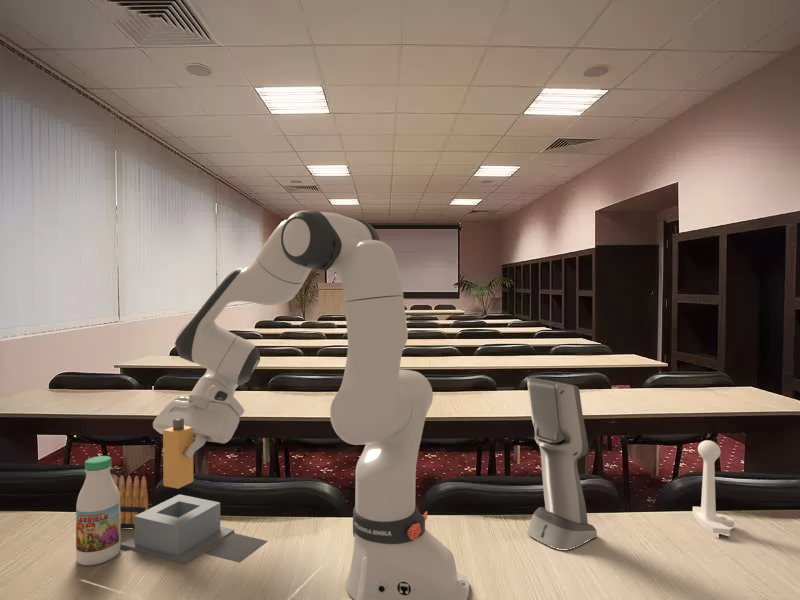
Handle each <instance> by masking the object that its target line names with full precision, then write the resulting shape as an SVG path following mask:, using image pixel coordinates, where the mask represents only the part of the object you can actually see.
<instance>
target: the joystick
mask: <svg viewBox="0 0 800 600" xmlns="http://www.w3.org/2000/svg"><path fill="white" fill-rule="evenodd" d="M697 452H698V454H699V456H700V457H701V458H702V459H703V466H702V482H701V483H702V484H701V497H700V498H701V503H700V506H692V515H693V514H694V517H695V518H696V519H697V521H698V522H699V523H700V524H701V525H702V526H704V527H705V528H706V529H708V530H710V531H711V532H713V533H723V534H730V535H731V531H730V528H729V527H733V526H734V527H735V519H734V518H733V517H731V516H729V515H724V514H718V513H716V512H717V511H716V508H717V507H716V506H717V505H716V481H715V480H716V478H715V474H716V472H715V462H716V461H717V459H719V457H720V456H721V454H722V453H721V448H720V446H719V445H718V444H717V443H716V442H715V441H713V440H708V439H706V440H703V441H701V442H700V443H699V444H698V446H697Z"/></svg>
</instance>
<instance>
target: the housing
mask: <svg viewBox="0 0 800 600" xmlns="http://www.w3.org/2000/svg"><path fill="white" fill-rule="evenodd" d="M234 532H235V529H234V528H233V529H232V528H229V527H223V526H221V502H219V501H215V500H208V499H203V498H201V497H200V498H199V497H194V496H190V495H184V494H177V495H175V496H173V497H171V498H168V499H166V500H165V501H162V502H160V503H158V504H157V505H155V506H152V507H149V509H148V510H146V511H144V512H142V513H140V514H138V515H136V516H134V536H133V537H131V538H129V539H127V540H125V541H123V542H122V543H121V548H120V549H123V548H124V550H127V551H130V550H132V551H135V552H140V553H142V554H147V555H150V556H154V557H156V558H162V559H165V560H168V561H171V562H175V563H176V562H177V563H179V564H183V565H187V564H188V563H190V562H191V561H192V560H194V559H195V558H197V557H199V556H200V555H202V554H203V553H206V552H207V551H209V550H210V549H212V548H213V547H215V546H216V545H218V544H219V543H221V542H222V541H224V540H225V539H227V538H228V537H230V536H231V535H233V534H234Z"/></svg>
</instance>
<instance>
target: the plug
mask: <svg viewBox="0 0 800 600" xmlns="http://www.w3.org/2000/svg"><path fill="white" fill-rule="evenodd" d="M192 429H193V427H188V426H184V419H183V418H177V419H173V427H171V428H168V429H165V430H163V434H162V436H163V437H162V438H163V439H162V446H163V447H162V449H163V451H162V455H163V457H162V459H163V461H162V462H163V464H162V469H163V470H162V472H163V473H162V474H163V475H162V476H163V477H162V480H163V482H162V483H163V485H162V486H164V487H168V488H173V489H177V490H179V489H181V488H182V487H185V486H187V485H189V484H191V483H193V482H194V455H193V456H192V457H191V458H188V457H184V456H183V455H182V452H183V451H184V448H185V447H186V446H187V447H189V446H190V445H191V444H192V443H193V442H194V439H193V434H192V433H191V431H192Z"/></svg>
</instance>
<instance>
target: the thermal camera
mask: <svg viewBox="0 0 800 600" xmlns="http://www.w3.org/2000/svg"><path fill="white" fill-rule="evenodd" d="M527 391H528V398H529V400H528V401H529V410H530V416H531V421H532V425H533V428H534V429H533V430H534V440H535V442H536V444H537V445H538V446H539V450H540V462H541V474H542V475H541V477H542V486H543V498H544V504H545V505H544V507H541V506H540V507H538V508H537V509H535V511H534V512H533V514H532V516H531V519H530V522H529V525H528V528H527V533H528V536H529V535H530V536H531V537H530V536H529V537H530V538H532V537H533V538H534V539H533V538H532V539H533V540H535V539H536V540H535V541H537V540H538V541H540V542H542V543H544V544H546V545H549V546H552V547H555V548H559V549H570V548H573V547H576V546H578V545H580V544H582V543H584V542H585V541H587V540H589V539H591V538H593V537H595V536H596V537H597V536H598V533H597V532H598V531H597V528H595V526H594V525H593V524H590V523H589V522H588V521H589V520H588V513H587V507H586V501H585V496H584V491H583V487H582V483H581V479H580V475H579V469H578V461H579V459H581V458H583V457H585V456H586V455H587V453H588V450H589V443H588V436H587V431H586V425H585V419H584V415H583V408H582V407H583V406H582V398H581V393H580V388H579V386H578V385H575V384H569V383H565V382H564V383H563V382H558V381H552V380H545V379H541V378H533V377H532V378H528V379H527ZM538 541H537V542H538ZM540 542H539V543H540ZM542 543H541V544H542ZM544 544H543V545H544ZM584 544H585V543H584ZM546 545H545V546H546ZM582 545H583V544H582ZM580 546H581V545H580ZM578 547H579V546H578ZM576 548H577V547H576Z"/></svg>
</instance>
